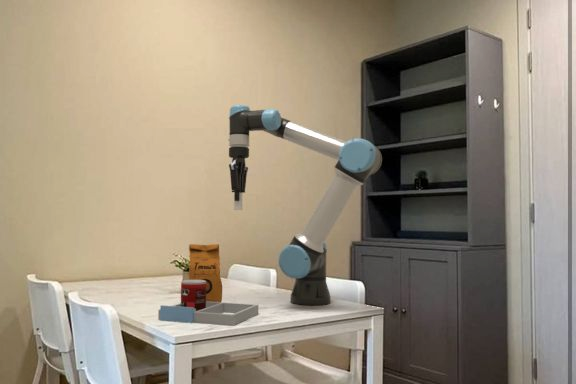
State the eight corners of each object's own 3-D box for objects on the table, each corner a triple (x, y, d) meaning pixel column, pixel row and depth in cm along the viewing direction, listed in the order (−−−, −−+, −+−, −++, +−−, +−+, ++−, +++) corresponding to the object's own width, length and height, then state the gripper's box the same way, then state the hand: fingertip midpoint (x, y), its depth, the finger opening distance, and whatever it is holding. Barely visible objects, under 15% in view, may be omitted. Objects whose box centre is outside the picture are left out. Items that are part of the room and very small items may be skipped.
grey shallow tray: (258, 314, 170) (258, 300, 171) (232, 326, 151) (232, 310, 151) (189, 309, 178) (190, 296, 178) (157, 320, 158) (157, 305, 159)
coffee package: (221, 308, 181) (222, 244, 182) (185, 308, 180) (186, 244, 181) (222, 303, 191) (223, 243, 192) (188, 303, 190) (189, 243, 191)
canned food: (181, 313, 170) (182, 279, 171) (206, 313, 171) (207, 279, 171) (178, 317, 162) (179, 282, 163) (204, 317, 163) (205, 282, 164)
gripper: (236, 149, 203) (235, 210, 201) (222, 145, 190) (221, 209, 189) (254, 149, 200) (253, 210, 199) (241, 144, 188) (240, 209, 187)
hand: (238, 210), depth 194 cm, fingers closed
